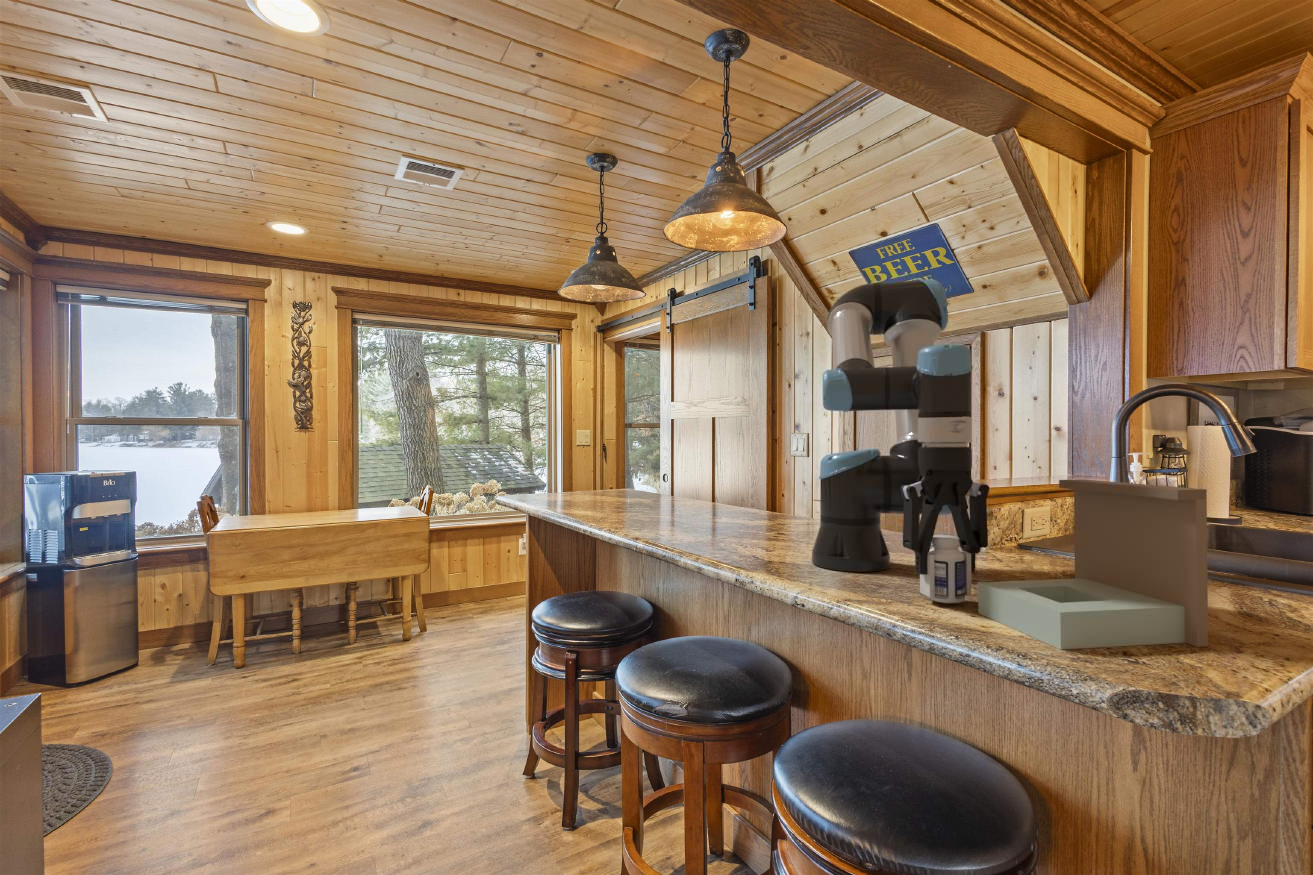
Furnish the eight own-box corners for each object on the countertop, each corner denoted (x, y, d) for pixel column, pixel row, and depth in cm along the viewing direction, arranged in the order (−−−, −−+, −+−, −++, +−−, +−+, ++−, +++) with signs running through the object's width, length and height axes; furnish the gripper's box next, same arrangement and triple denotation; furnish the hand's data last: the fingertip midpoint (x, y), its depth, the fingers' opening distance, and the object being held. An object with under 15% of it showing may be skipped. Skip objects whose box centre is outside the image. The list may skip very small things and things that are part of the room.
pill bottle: (956, 594, 94) (956, 533, 94) (971, 604, 89) (970, 539, 89) (921, 593, 95) (921, 533, 95) (933, 603, 89) (933, 539, 89)
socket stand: (971, 610, 88) (970, 481, 88) (1084, 604, 90) (1082, 479, 90) (1070, 654, 70) (1069, 492, 70) (1208, 646, 72) (1206, 489, 72)
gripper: (901, 446, 87) (902, 603, 87) (1016, 445, 89) (1017, 597, 89) (876, 445, 94) (877, 590, 94) (983, 443, 96) (983, 585, 97)
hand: (945, 593), depth 92 cm, fingers closed on pill bottle, 5 cm apart
